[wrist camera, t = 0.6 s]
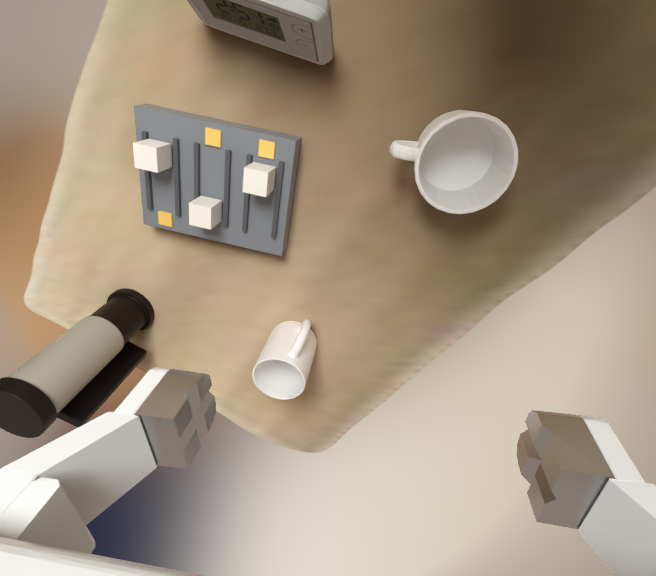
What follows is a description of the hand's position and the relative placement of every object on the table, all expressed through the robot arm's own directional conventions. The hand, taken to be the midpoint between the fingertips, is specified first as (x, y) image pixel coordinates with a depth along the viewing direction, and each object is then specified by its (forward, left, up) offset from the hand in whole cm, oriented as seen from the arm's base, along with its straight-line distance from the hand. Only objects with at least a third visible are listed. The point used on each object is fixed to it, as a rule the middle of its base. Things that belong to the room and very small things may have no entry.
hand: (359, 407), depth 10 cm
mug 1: (+32, -7, -44) cm, 55 cm away
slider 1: (+6, -29, -40) cm, 50 cm away
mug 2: (-1, +7, -44) cm, 44 cm away
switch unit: (+9, -22, -43) cm, 50 cm away
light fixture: (+37, -38, -44) cm, 69 cm away
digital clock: (-11, -16, -44) cm, 48 cm away
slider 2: (+12, -22, -40) cm, 47 cm away
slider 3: (+6, -15, -40) cm, 43 cm away
